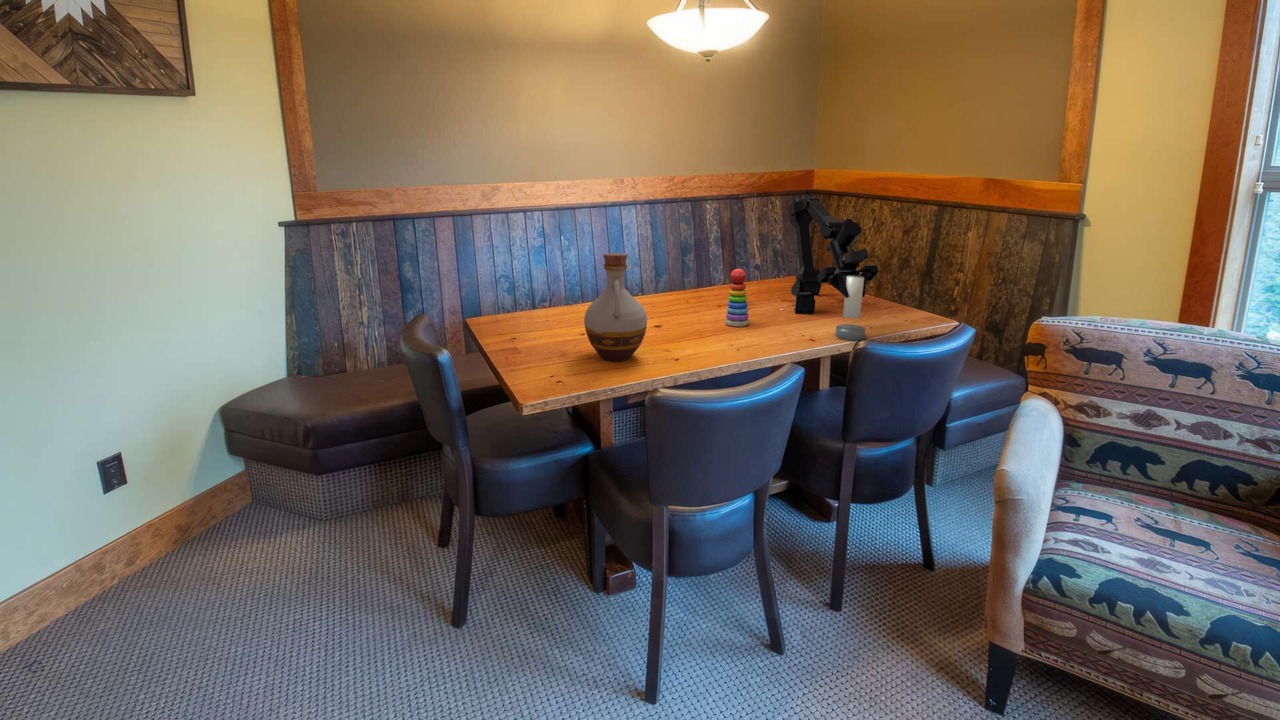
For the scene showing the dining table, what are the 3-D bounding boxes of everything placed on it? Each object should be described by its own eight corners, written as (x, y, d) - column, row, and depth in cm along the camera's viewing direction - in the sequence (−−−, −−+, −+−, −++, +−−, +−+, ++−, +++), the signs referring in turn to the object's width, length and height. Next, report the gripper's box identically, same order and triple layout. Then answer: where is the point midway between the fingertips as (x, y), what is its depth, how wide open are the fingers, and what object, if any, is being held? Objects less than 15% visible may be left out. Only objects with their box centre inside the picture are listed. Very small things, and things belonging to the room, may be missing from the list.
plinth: (837, 340, 225) (838, 331, 224) (833, 332, 234) (834, 323, 233) (867, 341, 224) (868, 332, 223) (862, 333, 233) (862, 324, 232)
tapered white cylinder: (848, 318, 224) (852, 279, 220) (839, 314, 229) (843, 275, 225) (863, 317, 225) (867, 278, 221) (854, 313, 230) (858, 275, 226)
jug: (650, 368, 198) (651, 260, 189) (585, 370, 197) (583, 260, 188) (644, 347, 217) (644, 247, 208) (584, 348, 216) (582, 248, 206)
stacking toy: (751, 322, 245) (753, 267, 240) (746, 328, 238) (749, 272, 232) (728, 320, 248) (730, 266, 242) (722, 326, 241) (725, 270, 235)
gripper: (824, 240, 221) (838, 283, 214) (879, 238, 225) (895, 281, 219) (811, 261, 231) (824, 303, 224) (863, 259, 235) (878, 300, 228)
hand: (855, 296), depth 224 cm, fingers closed on tapered white cylinder, 5 cm apart
